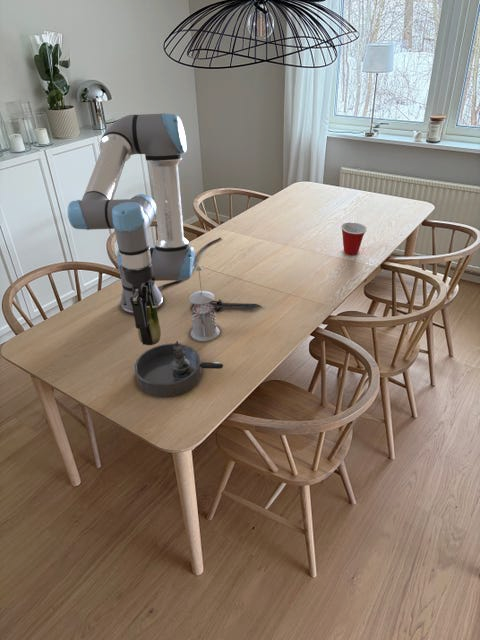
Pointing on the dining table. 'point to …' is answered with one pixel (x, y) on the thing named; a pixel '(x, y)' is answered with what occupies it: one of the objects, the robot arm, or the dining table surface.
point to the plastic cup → (352, 237)
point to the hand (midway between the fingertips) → (150, 337)
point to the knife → (232, 305)
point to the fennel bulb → (153, 325)
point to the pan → (165, 371)
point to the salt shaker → (180, 362)
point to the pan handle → (211, 365)
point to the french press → (203, 315)
